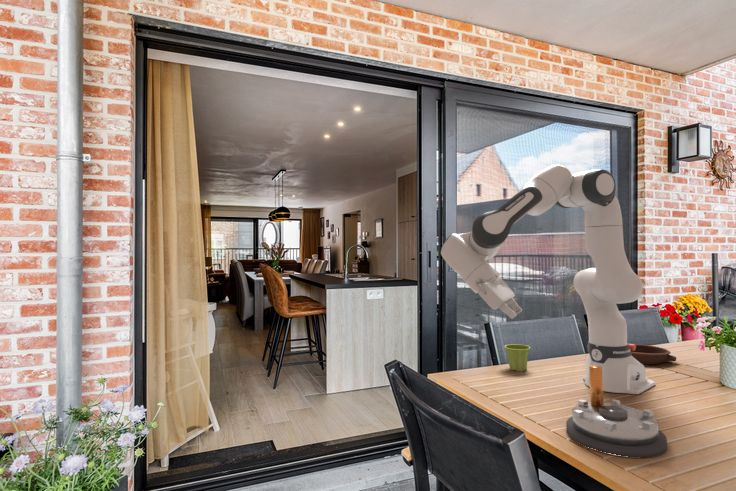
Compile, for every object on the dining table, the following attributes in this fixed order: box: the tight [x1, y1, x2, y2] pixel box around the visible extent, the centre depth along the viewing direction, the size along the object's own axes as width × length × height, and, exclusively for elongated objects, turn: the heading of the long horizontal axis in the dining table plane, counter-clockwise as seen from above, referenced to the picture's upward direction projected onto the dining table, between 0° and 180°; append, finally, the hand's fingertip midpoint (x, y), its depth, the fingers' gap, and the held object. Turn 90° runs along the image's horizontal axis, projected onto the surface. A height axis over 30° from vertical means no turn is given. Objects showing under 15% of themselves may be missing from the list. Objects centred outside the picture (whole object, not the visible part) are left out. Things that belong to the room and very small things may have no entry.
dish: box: [631, 344, 677, 365], centre depth 168 cm, size 18×22×5 cm
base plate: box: [565, 416, 668, 458], centre depth 102 cm, size 21×21×2 cm
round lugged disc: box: [571, 365, 659, 445], centre depth 102 cm, size 18×18×13 cm
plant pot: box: [504, 343, 531, 372], centre depth 161 cm, size 9×9×9 cm
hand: (517, 314), depth 119 cm, fingers open, 8 cm apart
